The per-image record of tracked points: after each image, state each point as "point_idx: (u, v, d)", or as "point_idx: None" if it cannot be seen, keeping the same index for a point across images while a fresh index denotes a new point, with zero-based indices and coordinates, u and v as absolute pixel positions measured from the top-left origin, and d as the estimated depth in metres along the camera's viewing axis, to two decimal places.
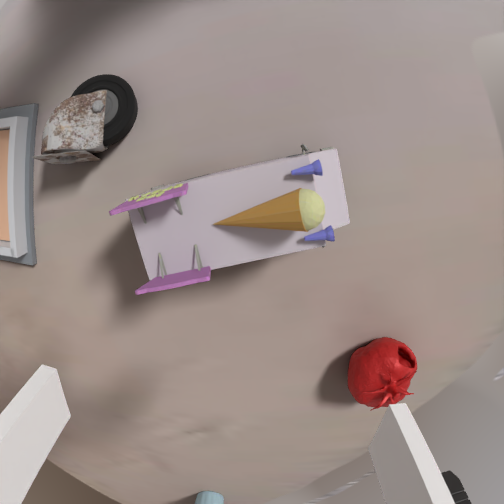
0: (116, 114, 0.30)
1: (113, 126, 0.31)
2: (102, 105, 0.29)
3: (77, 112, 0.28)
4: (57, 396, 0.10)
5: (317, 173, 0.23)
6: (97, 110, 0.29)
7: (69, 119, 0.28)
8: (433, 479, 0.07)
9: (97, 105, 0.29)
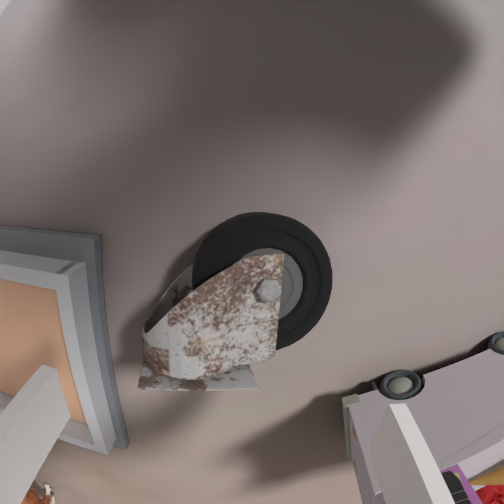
0: (300, 304, 0.19)
1: (292, 325, 0.19)
2: (279, 292, 0.18)
3: (228, 305, 0.17)
4: (57, 396, 0.10)
5: None
6: (269, 300, 0.18)
7: (216, 322, 0.16)
8: (433, 479, 0.07)
9: (270, 292, 0.17)
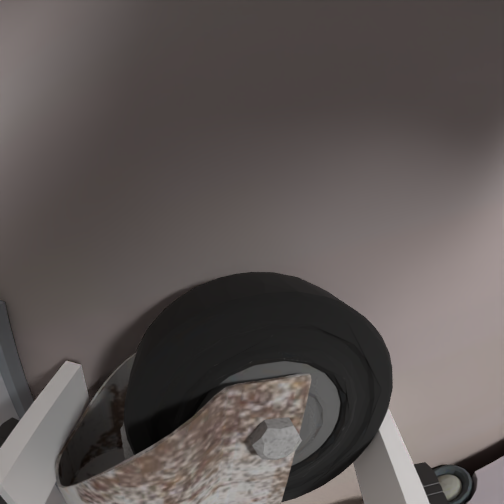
0: (330, 445, 0.09)
1: (313, 471, 0.09)
2: (298, 443, 0.08)
3: (193, 473, 0.07)
4: (81, 392, 0.11)
5: None
6: None
7: (170, 501, 0.06)
8: (404, 469, 0.07)
9: (279, 447, 0.07)
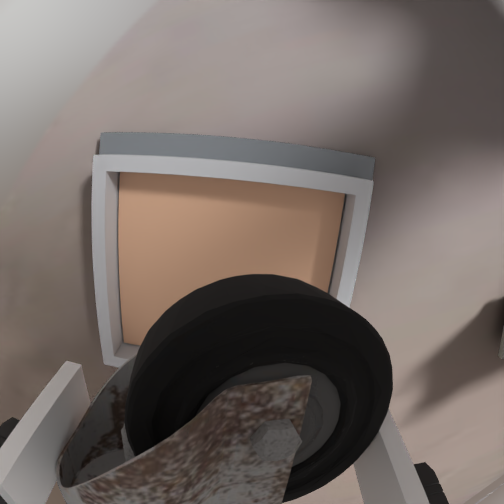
0: (330, 446, 0.09)
1: (313, 472, 0.09)
2: (298, 445, 0.08)
3: (194, 474, 0.07)
4: (81, 392, 0.11)
5: None
6: None
7: (171, 502, 0.06)
8: (404, 469, 0.07)
9: (280, 449, 0.07)
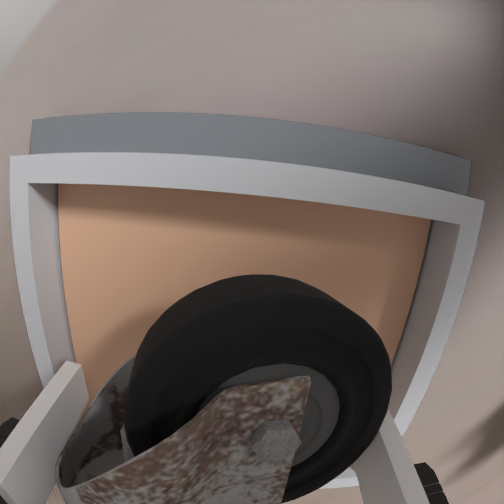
0: (329, 446, 0.09)
1: (312, 472, 0.09)
2: (297, 445, 0.08)
3: (193, 475, 0.07)
4: (81, 392, 0.11)
5: None
6: None
7: (170, 502, 0.06)
8: (404, 469, 0.07)
9: (279, 449, 0.07)
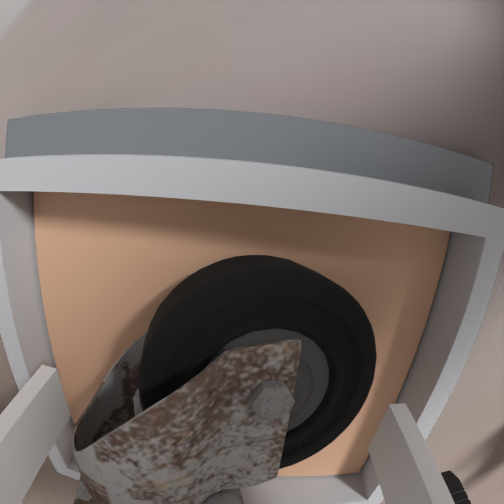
0: (321, 411, 0.10)
1: (307, 437, 0.11)
2: (291, 404, 0.09)
3: (199, 430, 0.08)
4: (57, 396, 0.10)
5: None
6: None
7: (178, 457, 0.08)
8: (433, 479, 0.07)
9: (275, 407, 0.09)
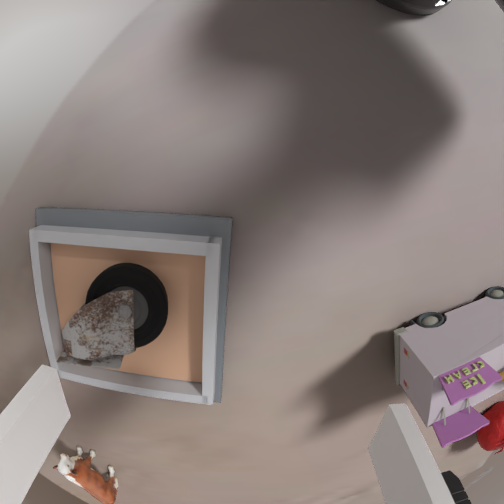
0: (147, 321, 0.29)
1: (144, 333, 0.30)
2: (130, 312, 0.28)
3: (101, 318, 0.27)
4: (57, 396, 0.10)
5: None
6: (125, 317, 0.28)
7: (94, 327, 0.27)
8: (433, 479, 0.07)
9: (124, 312, 0.28)
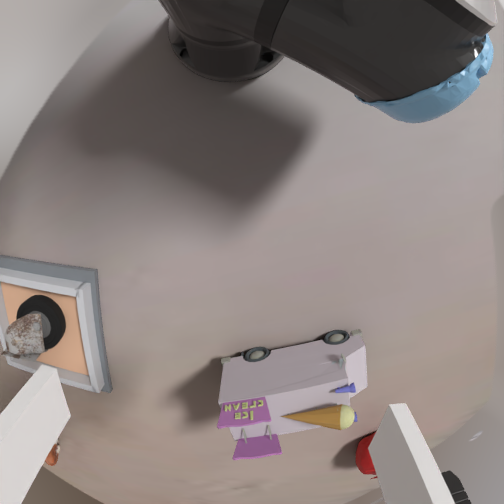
0: (50, 333, 0.40)
1: (49, 341, 0.40)
2: (39, 327, 0.39)
3: (23, 329, 0.38)
4: (57, 396, 0.10)
5: (352, 392, 0.33)
6: (37, 330, 0.39)
7: (19, 335, 0.38)
8: (433, 479, 0.07)
9: (36, 327, 0.39)
